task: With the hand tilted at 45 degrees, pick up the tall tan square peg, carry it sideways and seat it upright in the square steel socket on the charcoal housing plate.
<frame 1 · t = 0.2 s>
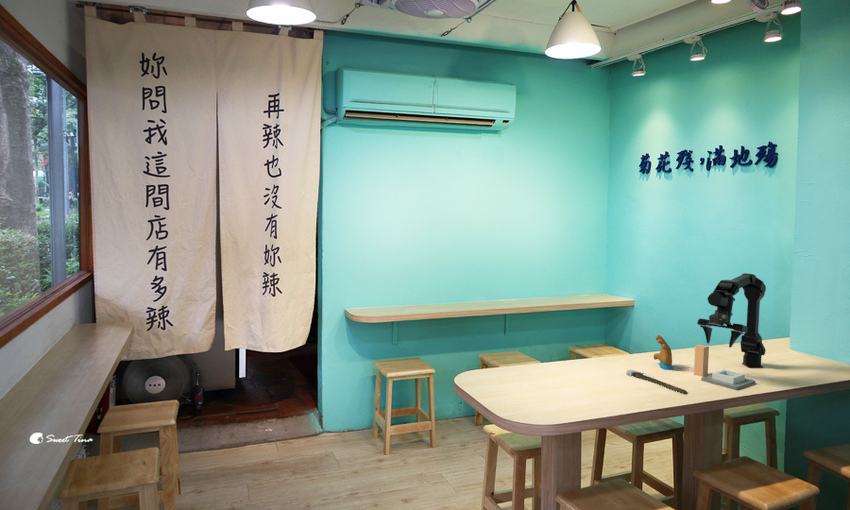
hand: (718, 345, 244), 15 cm above the table, tool tilted 15°, fingers open, 9 cm apart
axe: (660, 384, 243), on the table
tan square peg: (700, 374, 253), on the table
housing: (728, 382, 243), on the table
toy: (662, 367, 265), on the table
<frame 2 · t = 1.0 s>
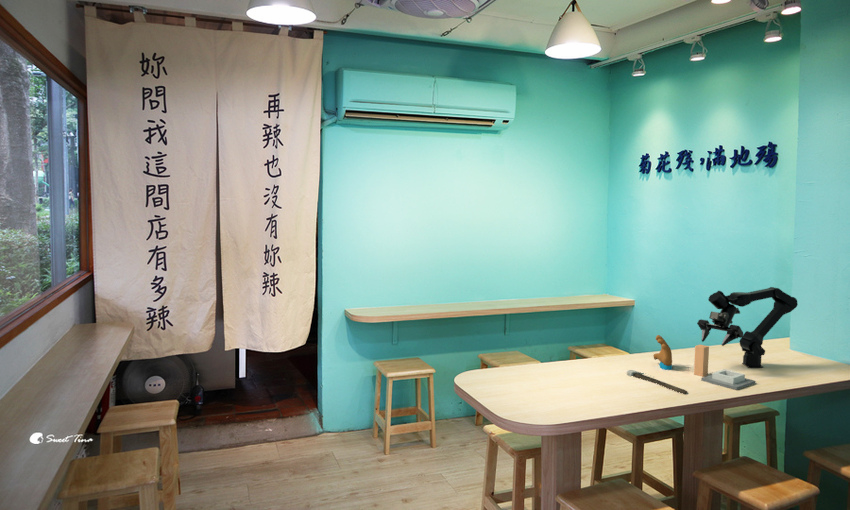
hand: (712, 343, 256), 13 cm above the table, tool tilted 45°, fingers open, 9 cm apart
nothing on the table moved.
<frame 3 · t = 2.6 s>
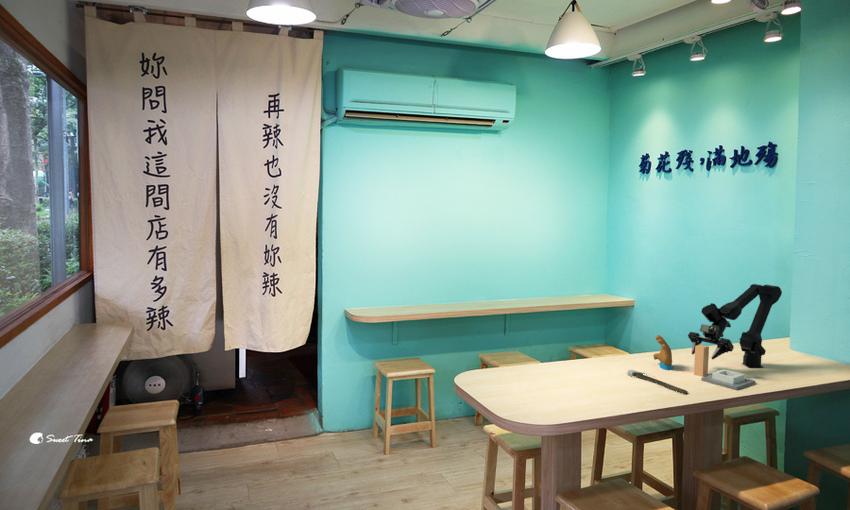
hand: (702, 356, 253), 8 cm above the table, tool tilted 45°, fingers open, 9 cm apart
nothing on the table moved.
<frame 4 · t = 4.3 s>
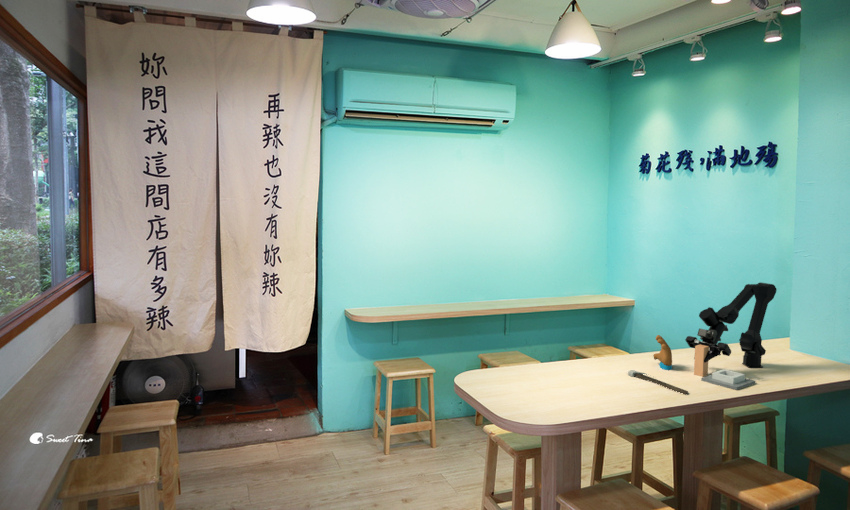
hand: (699, 360, 252), 7 cm above the table, tool tilted 45°, fingers closed on tan square peg, 4 cm apart
tan square peg: (700, 374, 253), on the table, touching gripper
everything else where it was.
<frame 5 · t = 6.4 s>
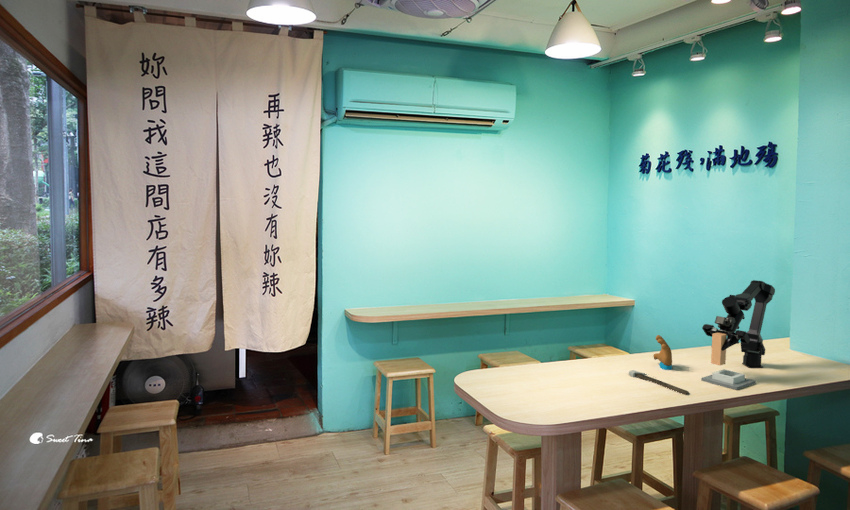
hand: (717, 349, 245), 14 cm above the table, tool tilted 45°, fingers closed on tan square peg, 4 cm apart
tan square peg: (718, 363, 246), point 7 cm above the table, touching gripper
when the fingers open (9 cm above the table, at t = 8.5 s): tan square peg drops 1 cm, resting on housing.
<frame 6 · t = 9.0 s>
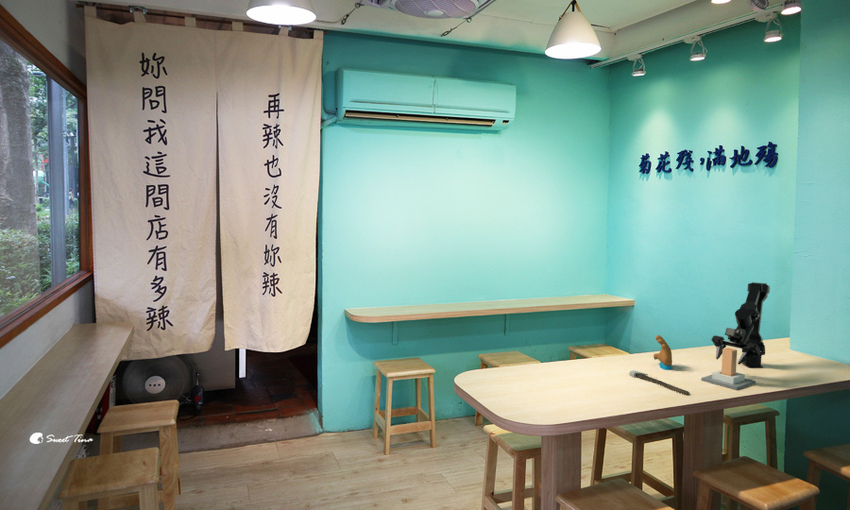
hand: (727, 361, 241), 9 cm above the table, tool tilted 45°, fingers open, 9 cm apart
tan square peg: (728, 379, 243), point 1 cm above the table, touching housing
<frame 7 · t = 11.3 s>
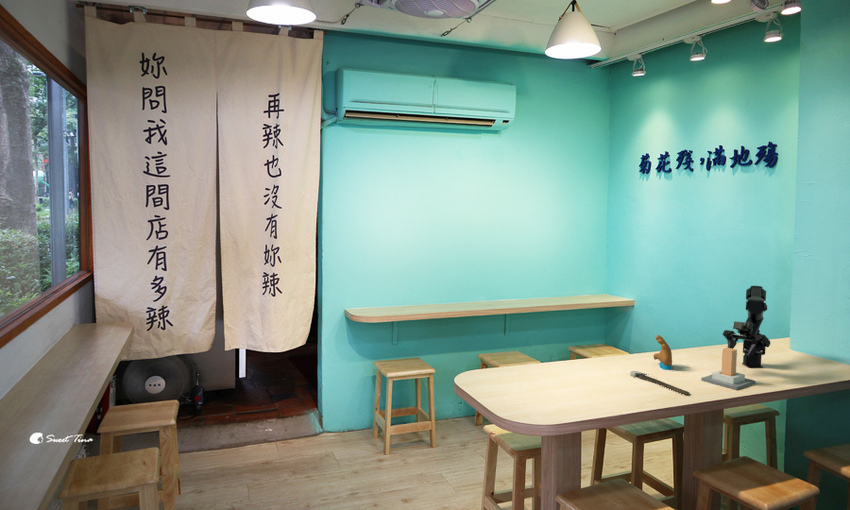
hand: (738, 354, 247), 11 cm above the table, tool tilted 40°, fingers open, 9 cm apart
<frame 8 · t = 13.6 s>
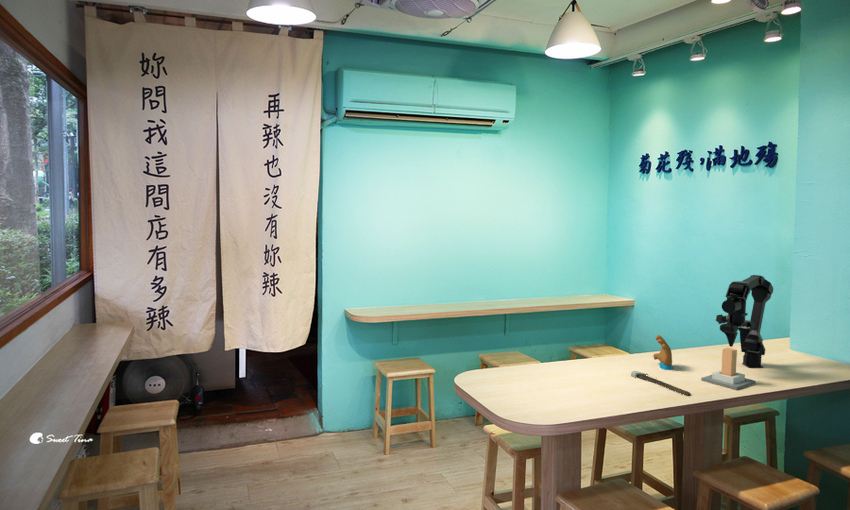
hand: (736, 345, 253), 13 cm above the table, tool pointing down, fingers open, 9 cm apart
at the end: tan square peg 0.0 cm off-centre on the housing, point 1.2 cm above the housing's base; tan square peg tilted 0°; the gripper is holding nothing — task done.
